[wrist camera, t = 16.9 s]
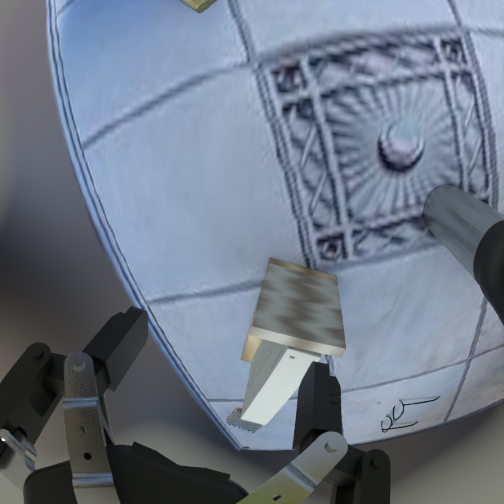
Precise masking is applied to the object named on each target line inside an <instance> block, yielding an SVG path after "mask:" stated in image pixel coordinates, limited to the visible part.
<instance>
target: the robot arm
mask: <svg viewBox="0 0 504 504" xmlns="http://www.w3.org/2000/svg"><path fill="white" fill-rule="evenodd" d="M424 220H425V223H426V225H427V227H428V229H429V230H430V231H431V232H432V233H433V234H434V235H435V236H436V237H437V238H438V239H439V240H440V241H441V242H442V244H443V245H444V246H445V247H446V248H447V249H448V250H449V251H450V252H451V253H452V254H453V255H454V256H455V257H456V259H457V260H458V261H459V262H460V263H461V264H462V265H463V266H464V268H465V269H466V270H467V271H468V272H469V273H470V274H471V276H472V277H473V278H474V279H475V280H476V282H477V283H478V284H479V285H480V288H481V290H482V292H483V294H484V295H485V297H486V298H487V300H488V301H489V302H490V304H491V305H492V307H493V308H494V310H495V311H496V313H497V315H498V316H499V318H500V320H501V322H502V323H503V325H504V214H502V213H500V212H499V211H497V210H495V209H494V208H492V207H490V206H489V205H487V204H485V203H484V202H482V201H480V200H479V199H477V198H475V197H473V196H471V195H470V194H468V193H466V192H464V191H462V190H461V189H459V188H457V187H455V186H452V185H442V186H439V187H437V188H436V189H434V190H433V191H432V192H431V194H430V195H429V196H428V198H427V200H426V203H425V206H424ZM147 338H148V314H147V311H145V310H142V309H140V308H137V307H134V306H131V307H130V308H129V309H128V311H127V312H126V313H125V314H124V313H121V312H120V313H118V314H116V315H114V316H112V317H111V318H110V319H109V320H108V321H107V323H106V324H105V325H104V326H103V327H102V329H101V331H99V332H98V333H97V334H96V336H95V337H94V338H93V339H92V340H91V341H90V343H89V344H88V345H87V346H86V348H85V349H84V350H83V351H82V352H74V353H72V354H70V355H69V356H64V355H60V354H55V353H51V350H50V348H49V347H48V346H47V345H46V344H44V343H34V344H32V345H30V346H29V347H28V348H27V349H26V351H25V352H24V353H23V354H22V356H21V357H20V358H19V360H17V362H16V363H15V364H14V366H13V367H12V368H11V369H10V371H9V372H8V373H7V375H6V376H5V377H4V379H3V380H2V381H1V383H0V472H1V473H2V474H3V475H5V476H6V477H7V478H8V479H9V480H10V481H12V482H13V483H14V484H15V485H17V486H18V487H19V488H20V489H22V490H23V495H24V504H300V502H302V501H303V500H304V499H305V498H306V497H307V496H308V495H309V494H310V493H311V492H312V491H313V490H314V489H315V488H316V485H317V484H318V483H319V482H320V481H321V480H323V481H325V482H328V483H330V484H333V487H332V494H331V501H330V504H390V459H389V457H388V455H387V454H386V453H385V452H384V451H382V450H379V449H373V450H370V451H368V452H364V451H361V450H359V449H356V448H354V447H352V446H350V445H349V444H348V443H347V441H346V439H345V438H344V437H343V435H342V417H341V397H340V396H341V388H340V384H339V382H338V380H337V378H336V377H334V376H329V365H328V364H325V363H320V362H315V361H313V362H312V363H311V364H310V366H309V368H308V370H307V371H306V373H305V375H304V377H303V378H302V380H301V383H300V386H299V391H298V401H297V411H296V421H295V430H294V439H293V447H292V449H295V450H299V456H298V457H297V458H296V459H295V460H293V461H292V462H291V463H290V464H288V465H287V466H286V467H285V468H283V469H282V470H281V471H280V472H279V473H277V474H276V475H275V476H274V477H272V478H271V479H270V480H268V481H267V482H266V483H264V484H263V485H262V486H261V487H259V488H258V489H256V490H255V491H254V492H252V493H251V494H249V493H247V491H246V490H245V489H244V488H243V487H241V486H240V485H239V484H237V483H236V482H234V481H232V480H230V479H229V478H230V474H226V473H222V472H219V471H215V470H211V469H207V468H200V467H188V466H180V465H177V464H176V463H174V462H173V461H171V460H169V459H168V458H166V457H165V456H163V455H162V454H160V453H159V452H157V451H155V450H153V449H151V448H148V447H146V446H143V445H141V444H139V443H137V442H134V443H133V445H132V446H130V445H116V443H115V440H114V437H113V434H112V431H111V427H110V423H109V418H108V414H107V408H106V403H105V397H104V392H105V391H106V389H107V388H108V389H110V390H112V391H115V390H116V388H117V386H118V385H119V383H120V382H121V380H122V379H123V377H124V375H125V374H126V372H127V371H128V369H129V368H130V366H131V365H132V363H133V362H134V360H135V358H136V357H137V356H138V354H139V353H140V351H141V349H142V348H143V346H144V345H145V343H146V341H147ZM63 396H64V397H66V401H65V402H63V417H64V426H65V434H66V441H67V448H68V453H69V459H70V460H68V461H65V462H62V463H59V464H55V465H52V466H48V467H45V468H41V469H38V470H35V462H36V456H37V454H36V449H35V447H34V444H35V442H36V440H37V439H38V437H39V435H40V433H41V431H42V430H43V428H44V426H45V424H46V423H47V421H48V419H49V418H50V416H51V414H52V413H53V411H54V409H55V408H56V406H57V405H58V403H59V401H60V400H61V398H62V397H63Z"/></svg>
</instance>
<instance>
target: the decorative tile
mask: <svg viewBox="0 0 504 504" xmlns="http://www.w3.org/2000/svg"><path fill="white" fill-rule="evenodd" d="M182 1H183V2H185V3H186V4H187V5H189V6H190V7H192V8H193V9H194V10H196V11H197V12H199V13H202V12H203V11H205V10H206V9H207V8H208V7H209V6H211V5H212V4H213V3H214V2H215V1H216V0H182Z"/></svg>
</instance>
